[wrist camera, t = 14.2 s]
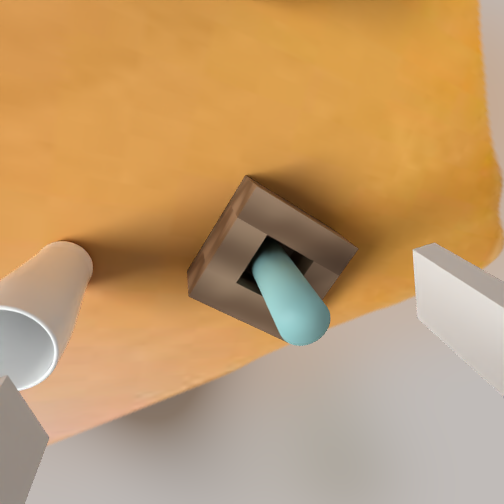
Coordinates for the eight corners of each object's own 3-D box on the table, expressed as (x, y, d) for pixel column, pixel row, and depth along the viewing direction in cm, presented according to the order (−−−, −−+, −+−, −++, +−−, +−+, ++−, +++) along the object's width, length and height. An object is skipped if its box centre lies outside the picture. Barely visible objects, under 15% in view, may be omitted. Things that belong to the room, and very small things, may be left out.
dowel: (258, 230, 40) (297, 289, 27) (289, 247, 41) (340, 311, 28) (239, 262, 40) (267, 333, 28) (269, 277, 42) (310, 352, 29)
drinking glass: (116, 262, 39) (82, 346, 25) (72, 306, 40) (16, 410, 26) (59, 218, 36) (-12, 284, 23) (14, 265, 37) (-82, 357, 23)
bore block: (245, 175, 38) (256, 186, 33) (334, 230, 42) (358, 248, 37) (187, 271, 41) (188, 296, 35) (276, 315, 45) (290, 343, 39)
